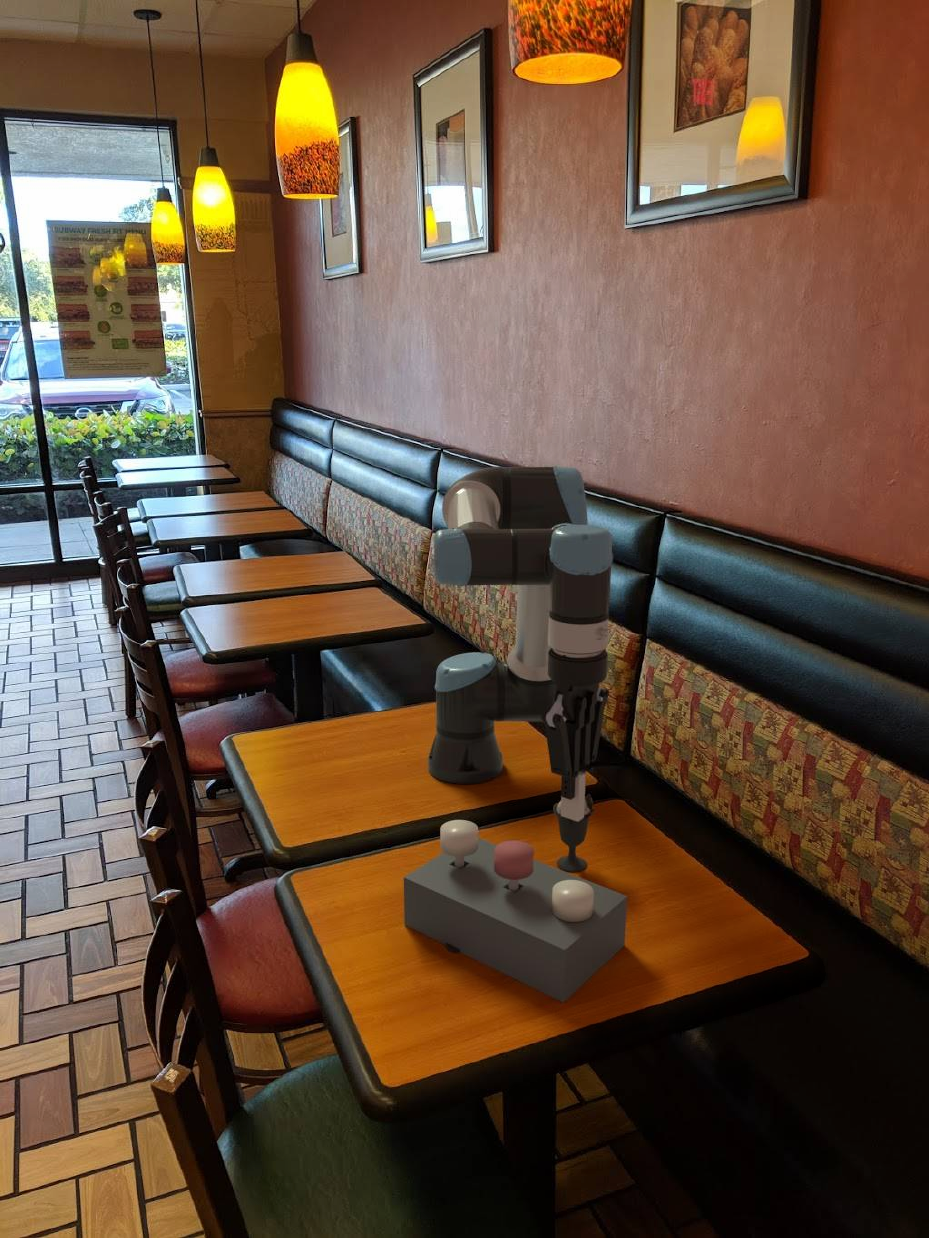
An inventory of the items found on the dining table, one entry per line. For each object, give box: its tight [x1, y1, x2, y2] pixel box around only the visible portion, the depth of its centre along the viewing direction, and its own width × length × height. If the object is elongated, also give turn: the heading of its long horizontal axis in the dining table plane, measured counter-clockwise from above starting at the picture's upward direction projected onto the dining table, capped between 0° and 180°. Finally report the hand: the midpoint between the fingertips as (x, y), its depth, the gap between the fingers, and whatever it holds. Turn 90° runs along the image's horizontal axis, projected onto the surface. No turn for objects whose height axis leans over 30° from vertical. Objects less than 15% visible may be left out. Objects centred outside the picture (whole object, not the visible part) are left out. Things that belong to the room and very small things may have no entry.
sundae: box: [552, 793, 595, 873], centre depth 158 cm, size 7×7×15 cm
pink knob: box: [494, 840, 535, 892], centre depth 139 cm, size 6×6×8 cm
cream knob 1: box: [439, 819, 479, 869], centre depth 145 cm, size 6×6×8 cm
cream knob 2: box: [552, 880, 594, 922], centre depth 133 cm, size 6×6×8 cm
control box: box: [403, 837, 628, 1003], centre depth 140 cm, size 16×28×8 cm, turn 51°
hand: (572, 816), depth 130 cm, fingers closed
